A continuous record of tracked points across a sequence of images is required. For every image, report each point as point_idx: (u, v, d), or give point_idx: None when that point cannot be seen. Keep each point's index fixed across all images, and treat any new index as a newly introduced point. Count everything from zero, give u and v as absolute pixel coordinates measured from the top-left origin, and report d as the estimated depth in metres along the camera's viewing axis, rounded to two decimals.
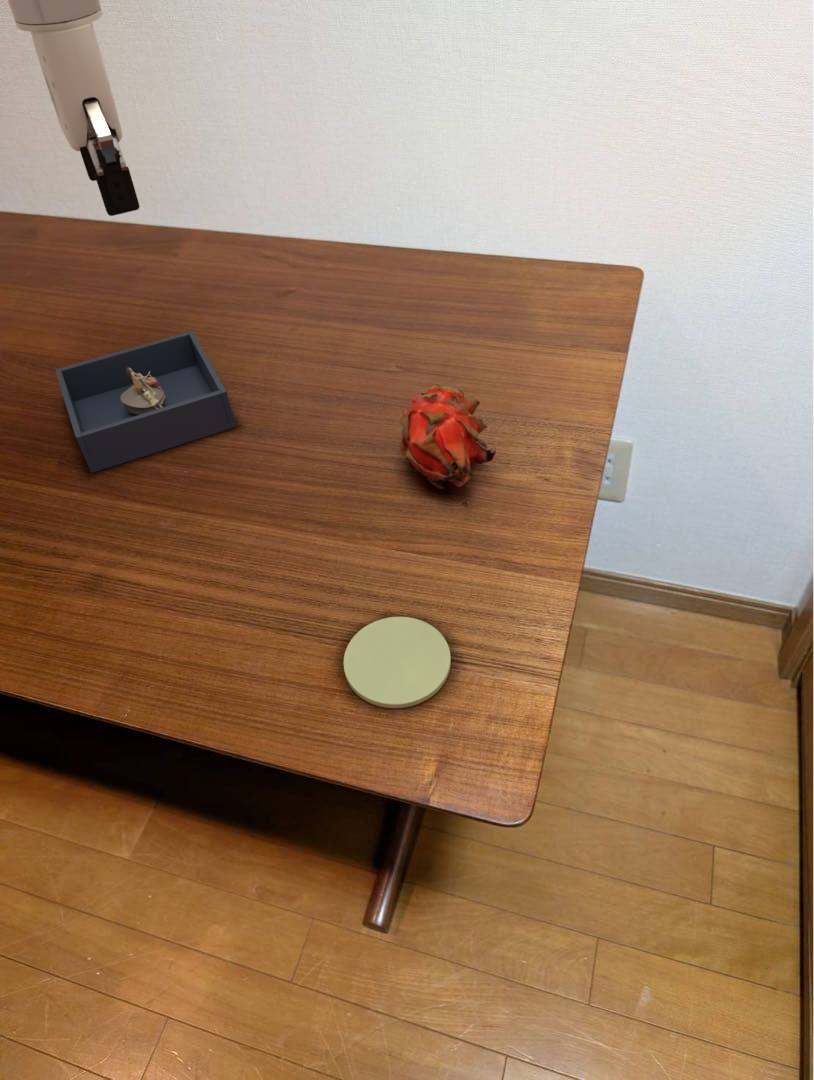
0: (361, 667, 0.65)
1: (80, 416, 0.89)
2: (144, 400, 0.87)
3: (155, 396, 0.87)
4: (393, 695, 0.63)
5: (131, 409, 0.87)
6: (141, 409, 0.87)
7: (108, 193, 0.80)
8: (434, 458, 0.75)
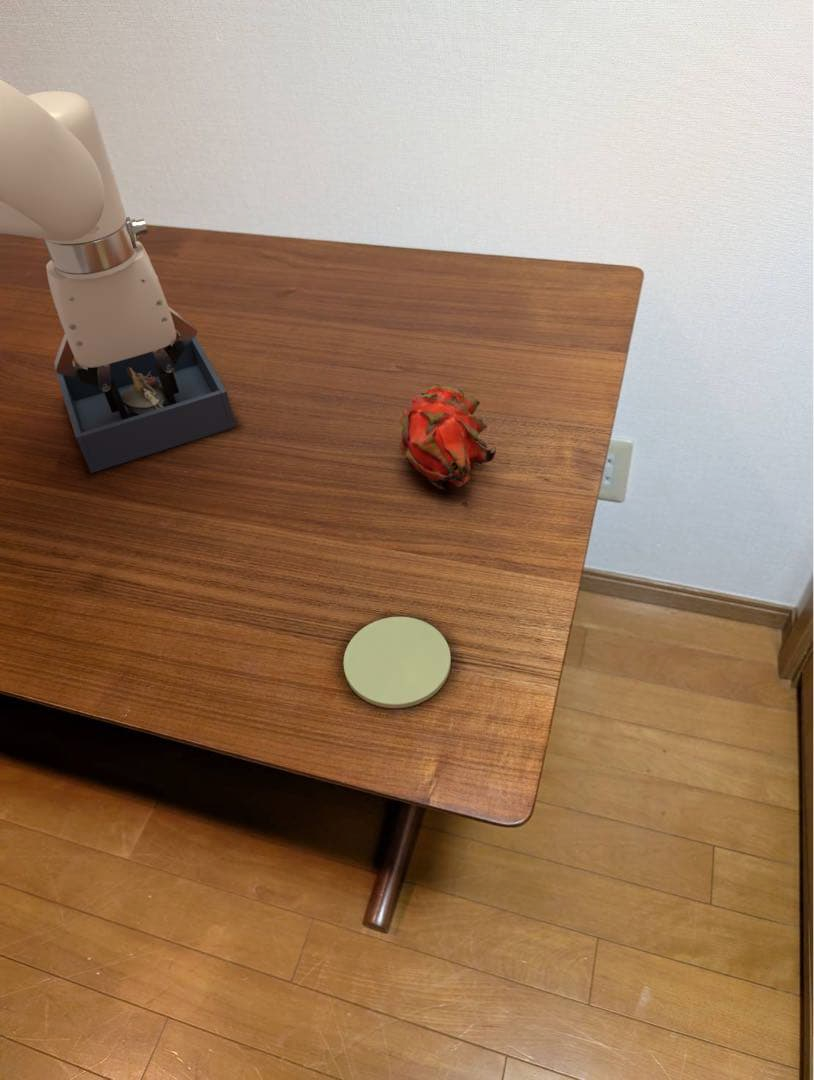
0: (361, 667, 0.65)
1: (80, 416, 0.89)
2: (144, 400, 0.87)
3: (155, 396, 0.87)
4: (393, 695, 0.63)
5: (132, 409, 0.87)
6: (141, 408, 0.87)
7: None
8: (434, 458, 0.75)
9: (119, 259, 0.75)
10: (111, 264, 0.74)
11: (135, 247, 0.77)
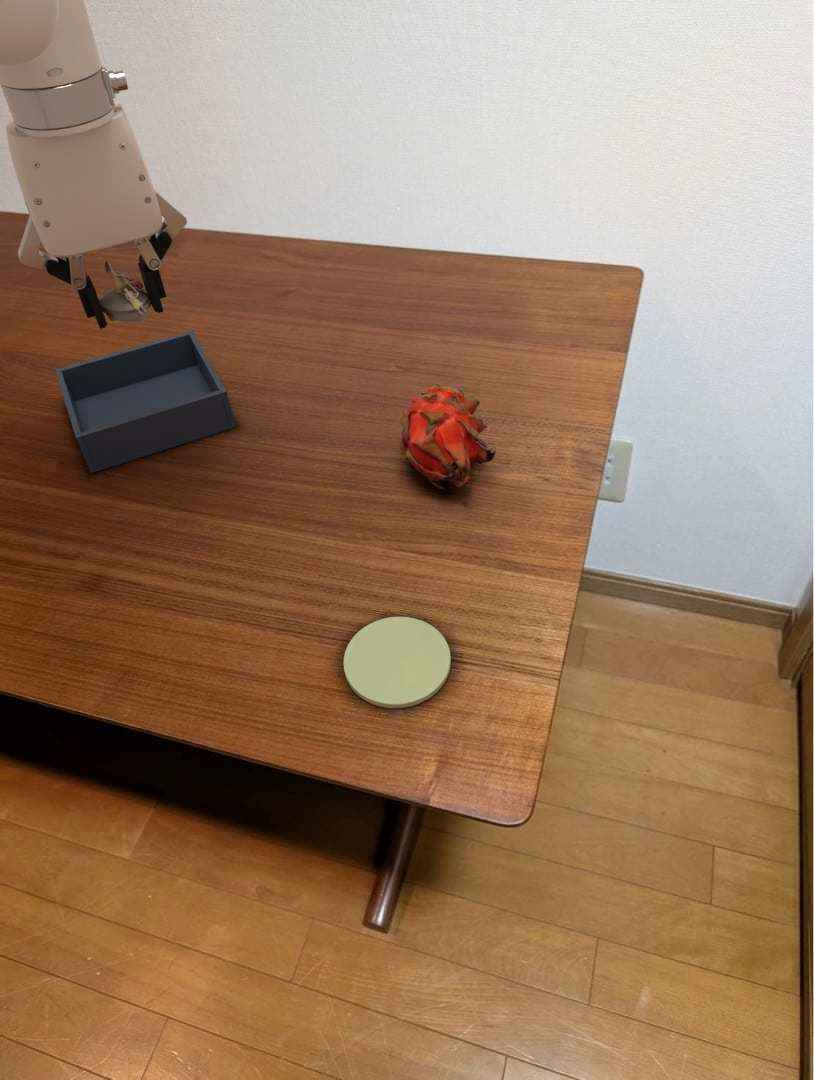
0: (361, 667, 0.65)
1: (80, 416, 0.89)
2: (126, 302, 0.74)
3: (139, 298, 0.75)
4: (393, 695, 0.63)
5: (110, 314, 0.75)
6: (122, 313, 0.74)
7: None
8: (434, 458, 0.75)
9: (93, 114, 0.62)
10: (83, 119, 0.62)
11: (112, 104, 0.64)
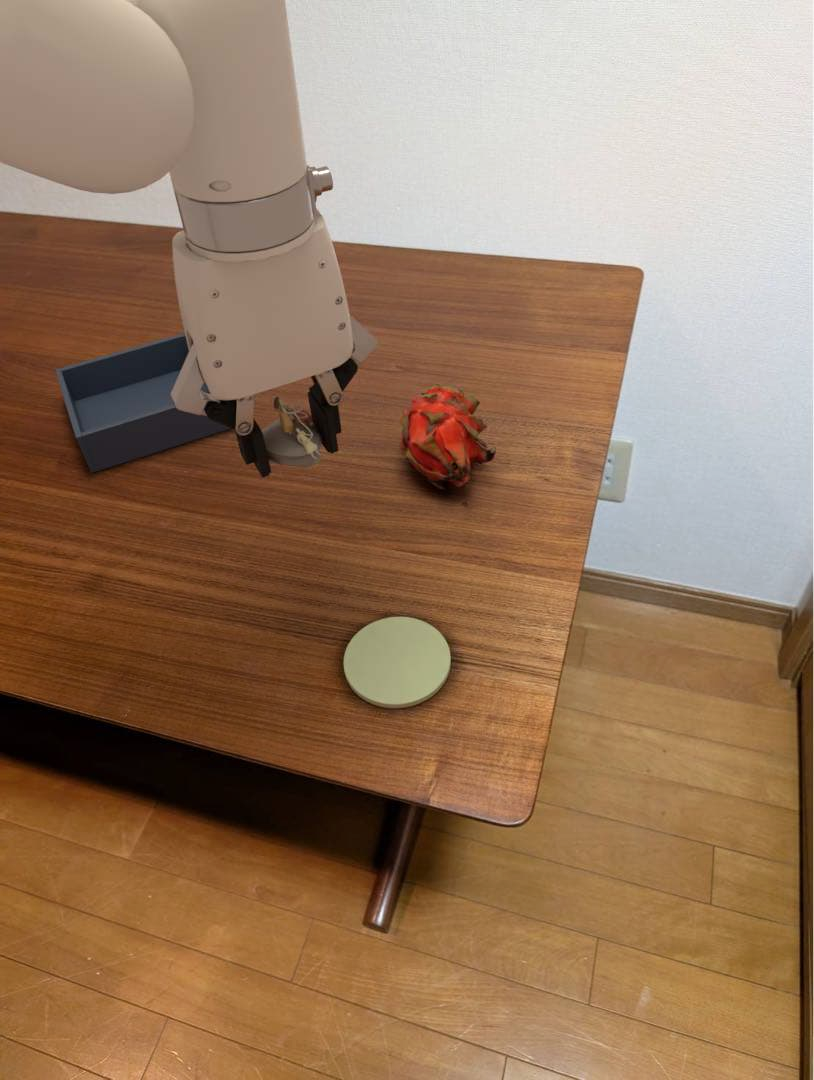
0: (361, 667, 0.65)
1: (80, 416, 0.89)
2: (296, 445, 0.58)
3: (311, 438, 0.59)
4: (393, 695, 0.63)
5: (275, 458, 0.59)
6: (291, 458, 0.59)
7: None
8: (434, 458, 0.75)
9: (297, 229, 0.46)
10: (285, 237, 0.46)
11: (314, 211, 0.48)
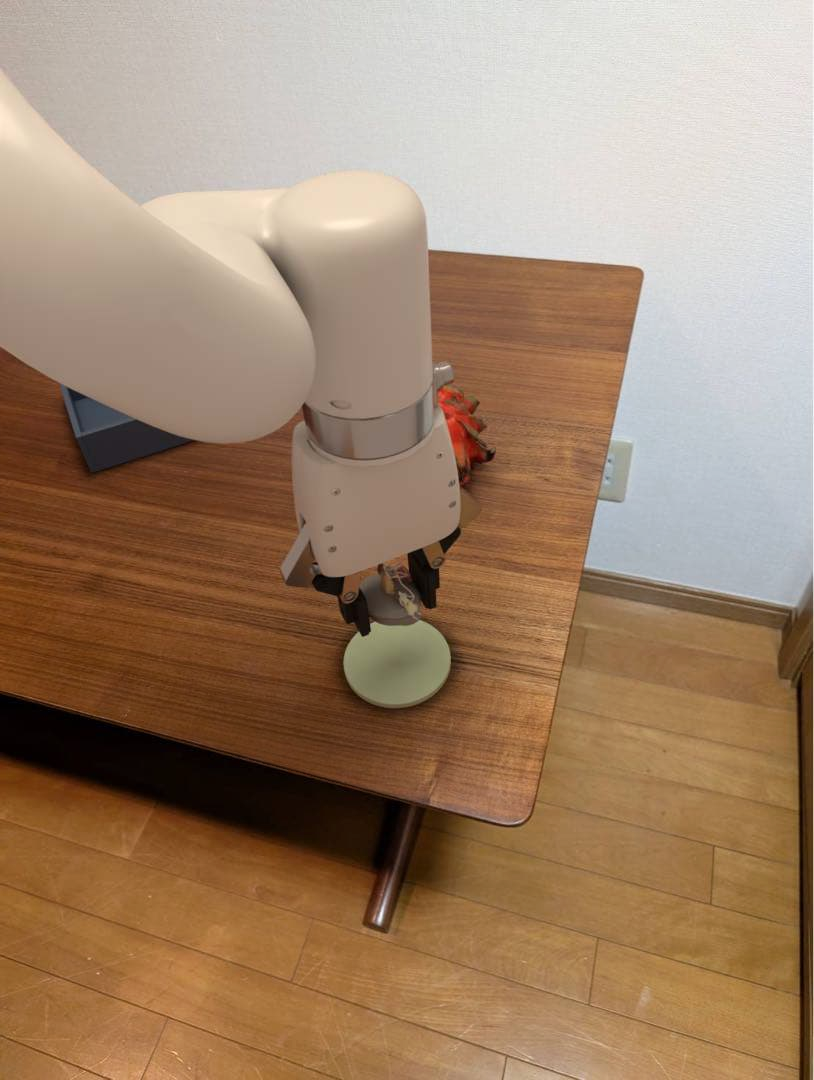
0: (361, 667, 0.65)
1: (80, 416, 0.89)
2: (397, 606, 0.58)
3: (411, 598, 0.59)
4: (393, 695, 0.63)
5: (376, 618, 0.59)
6: None
7: None
8: None
9: (422, 433, 0.46)
10: (411, 442, 0.46)
11: (435, 407, 0.48)
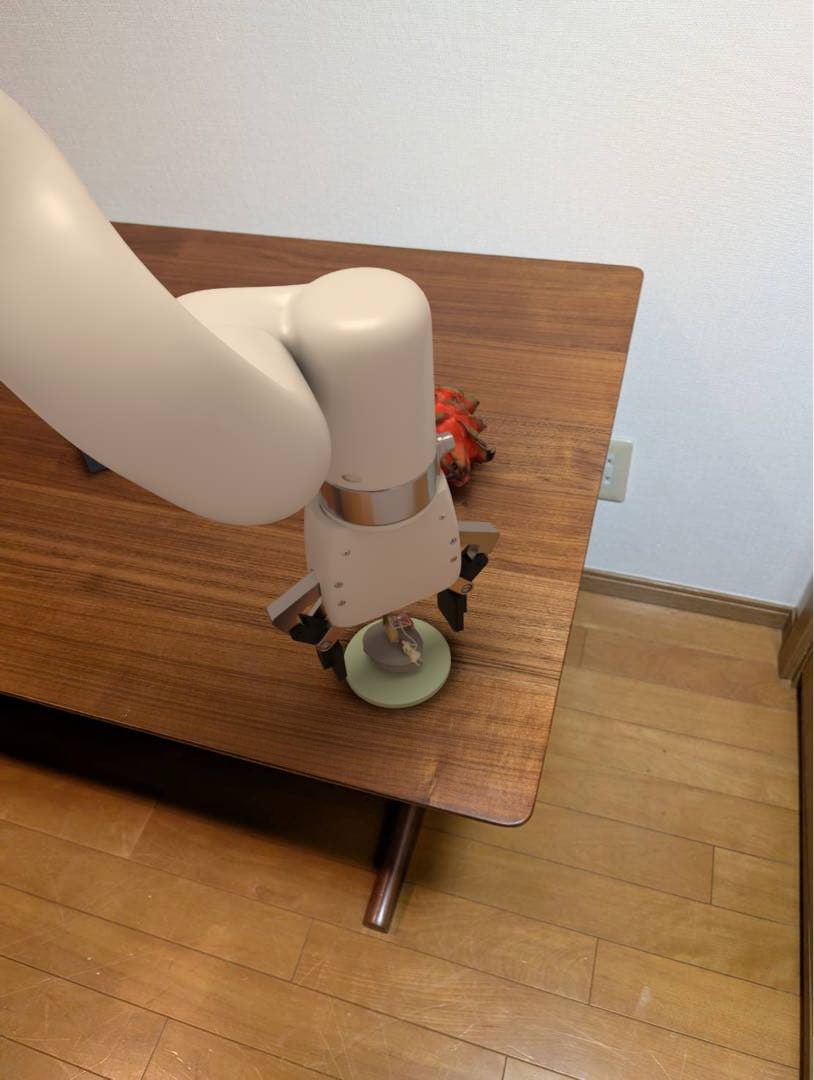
0: (361, 667, 0.65)
1: None
2: (401, 654, 0.62)
3: (414, 646, 0.63)
4: (393, 695, 0.63)
5: (381, 664, 0.63)
6: None
7: None
8: None
9: (426, 500, 0.50)
10: (416, 510, 0.49)
11: (438, 474, 0.52)
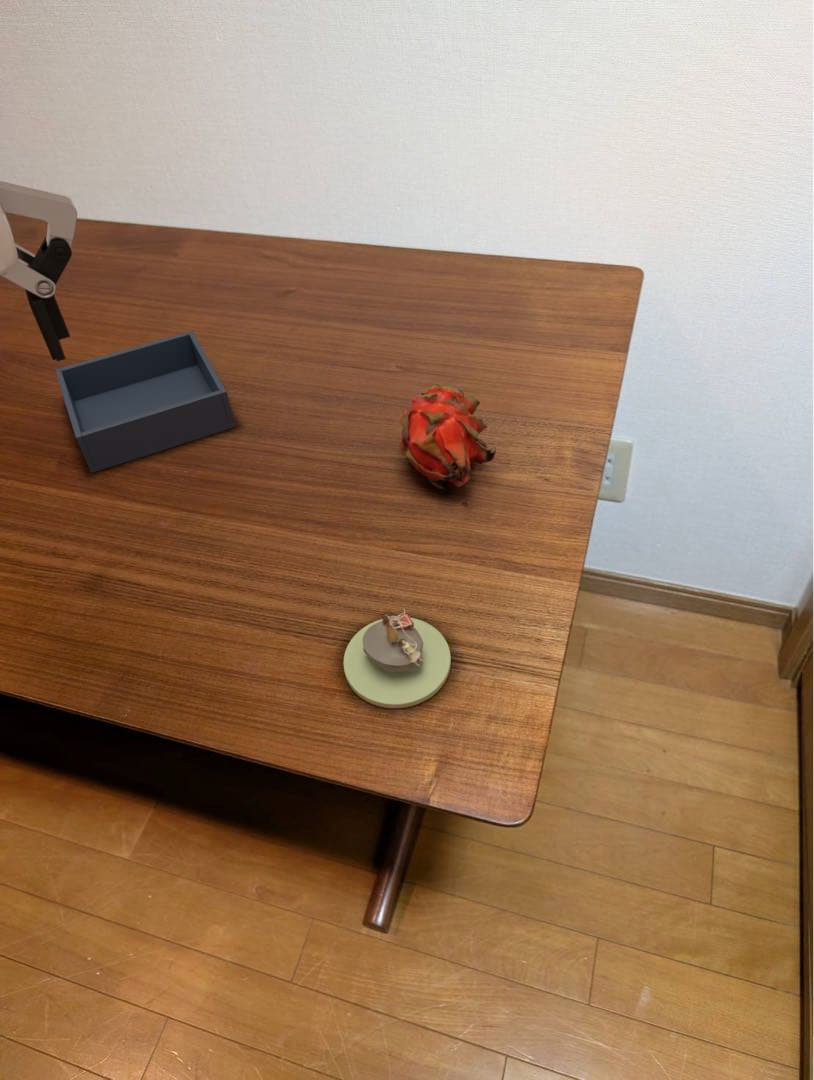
0: (361, 667, 0.65)
1: (80, 416, 0.89)
2: (401, 654, 0.62)
3: (414, 646, 0.63)
4: (393, 695, 0.63)
5: (381, 664, 0.63)
6: None
7: None
8: (434, 458, 0.75)
9: None
10: None
11: None
